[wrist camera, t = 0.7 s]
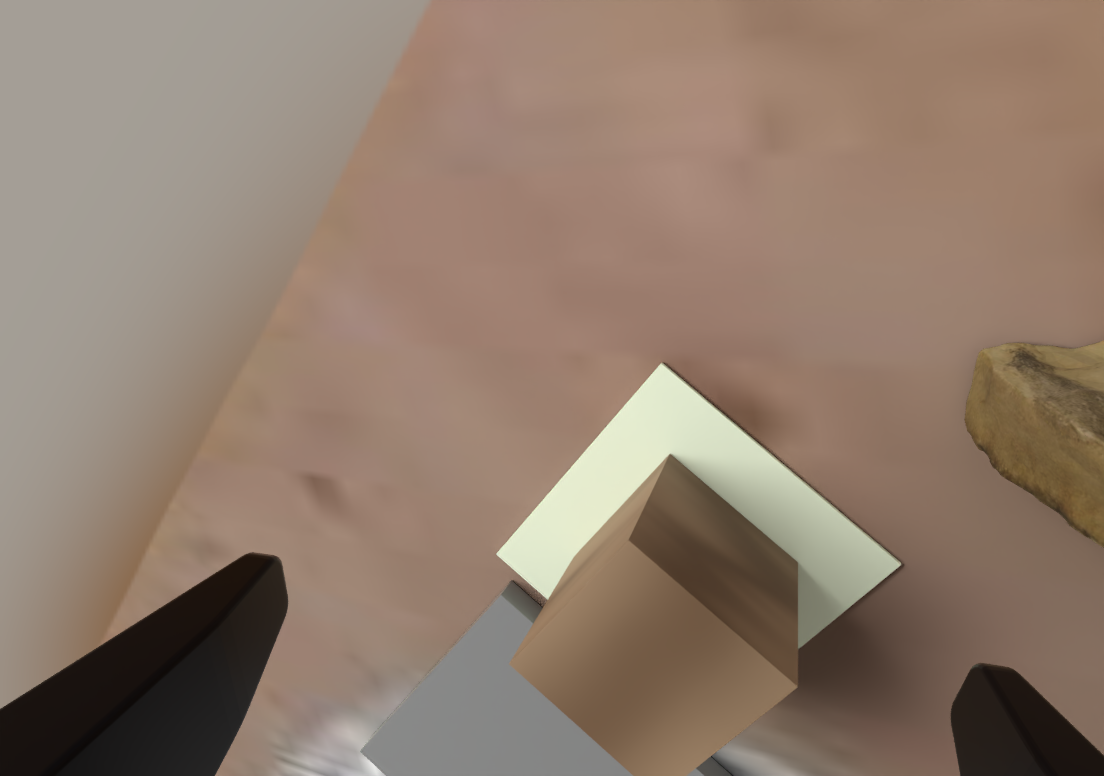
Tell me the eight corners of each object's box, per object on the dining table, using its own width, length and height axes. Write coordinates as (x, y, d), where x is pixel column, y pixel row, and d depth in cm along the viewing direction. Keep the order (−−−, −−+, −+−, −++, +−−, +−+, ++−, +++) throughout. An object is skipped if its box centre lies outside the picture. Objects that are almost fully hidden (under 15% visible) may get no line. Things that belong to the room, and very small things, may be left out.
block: (798, 562, 22) (797, 686, 17) (690, 658, 24) (658, 797, 19) (670, 453, 22) (628, 539, 17) (574, 556, 24) (508, 663, 19)
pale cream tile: (900, 562, 21) (901, 565, 21) (698, 729, 25) (697, 732, 25) (661, 362, 22) (661, 363, 22) (497, 552, 26) (495, 554, 25)
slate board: (757, 797, 25) (755, 821, 24) (582, 926, 29) (575, 950, 28) (511, 580, 26) (500, 594, 25) (373, 733, 30) (359, 751, 29)
